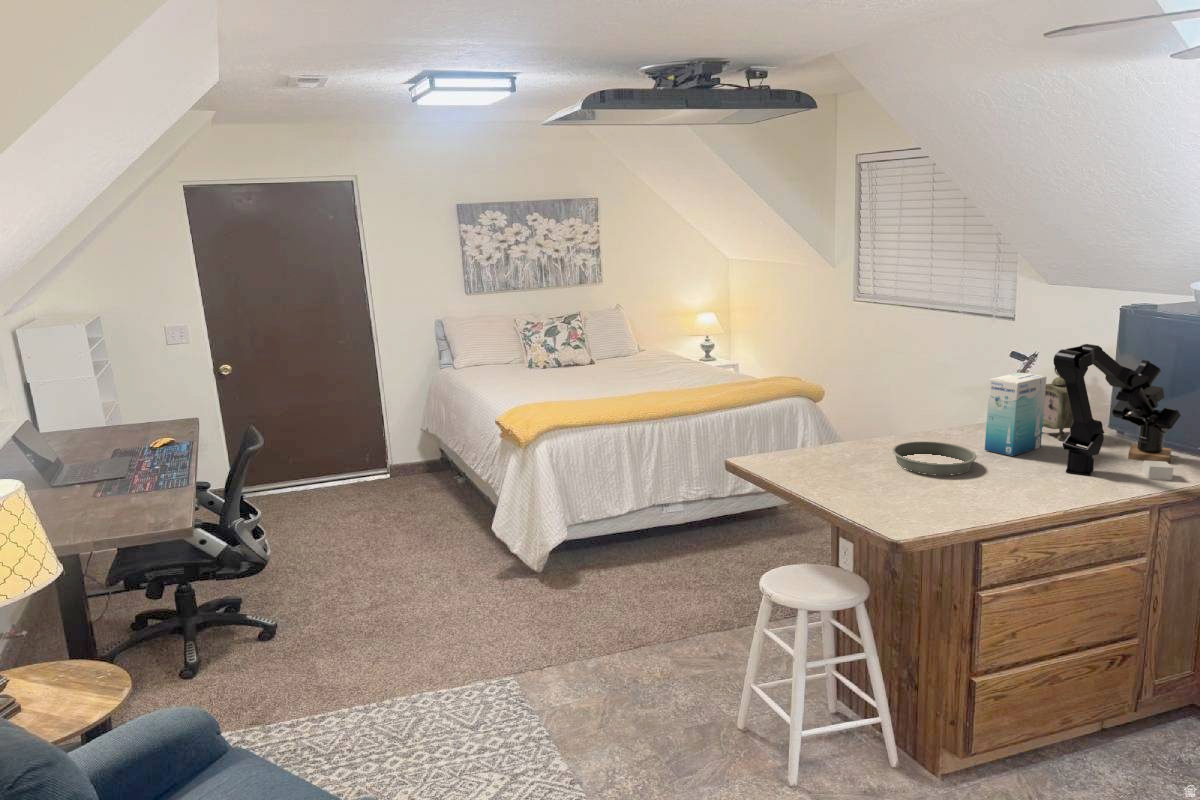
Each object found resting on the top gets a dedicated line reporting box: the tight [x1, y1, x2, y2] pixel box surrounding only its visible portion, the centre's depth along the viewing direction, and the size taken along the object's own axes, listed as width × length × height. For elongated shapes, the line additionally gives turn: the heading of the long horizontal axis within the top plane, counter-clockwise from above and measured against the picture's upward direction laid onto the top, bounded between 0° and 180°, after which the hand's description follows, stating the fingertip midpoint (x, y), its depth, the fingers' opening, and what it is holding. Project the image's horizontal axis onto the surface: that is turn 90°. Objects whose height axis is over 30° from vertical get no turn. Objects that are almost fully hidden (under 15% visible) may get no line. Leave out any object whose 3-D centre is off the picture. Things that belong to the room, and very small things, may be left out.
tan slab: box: [1127, 443, 1172, 465], centre depth 281 cm, size 11×11×2 cm
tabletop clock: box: [1042, 367, 1074, 441], centre depth 304 cm, size 14×9×25 cm, turn 10°
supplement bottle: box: [1136, 417, 1166, 453], centre depth 279 cm, size 7×7×12 cm
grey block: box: [1141, 461, 1174, 481], centre depth 262 cm, size 6×6×4 cm
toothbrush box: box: [984, 372, 1047, 457], centre depth 290 cm, size 18×10×24 cm, turn 126°
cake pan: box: [891, 441, 978, 476], centre depth 278 cm, size 25×25×4 cm
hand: (1155, 429), depth 280 cm, fingers closed on supplement bottle, 7 cm apart
